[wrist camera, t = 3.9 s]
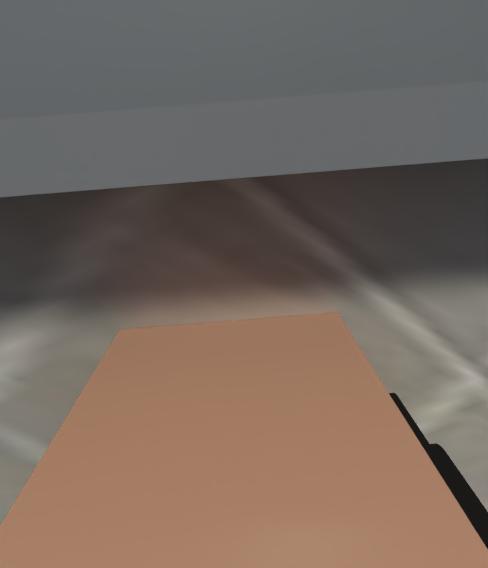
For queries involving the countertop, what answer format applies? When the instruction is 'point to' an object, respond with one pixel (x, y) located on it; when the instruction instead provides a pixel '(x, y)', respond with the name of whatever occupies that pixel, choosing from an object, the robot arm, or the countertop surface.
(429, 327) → the countertop surface
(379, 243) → the countertop surface
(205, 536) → the open square box
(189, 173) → the tray
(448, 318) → the countertop surface
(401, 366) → the countertop surface
